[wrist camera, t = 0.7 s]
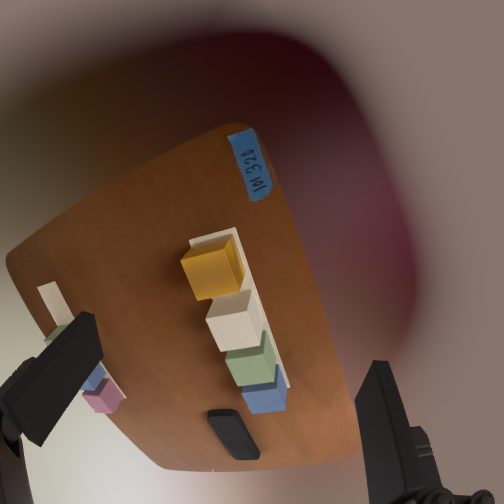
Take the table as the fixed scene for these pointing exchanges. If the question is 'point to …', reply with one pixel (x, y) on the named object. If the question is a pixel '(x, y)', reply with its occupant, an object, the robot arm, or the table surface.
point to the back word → (100, 381)
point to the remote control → (233, 434)
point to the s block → (214, 267)
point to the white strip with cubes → (248, 341)
